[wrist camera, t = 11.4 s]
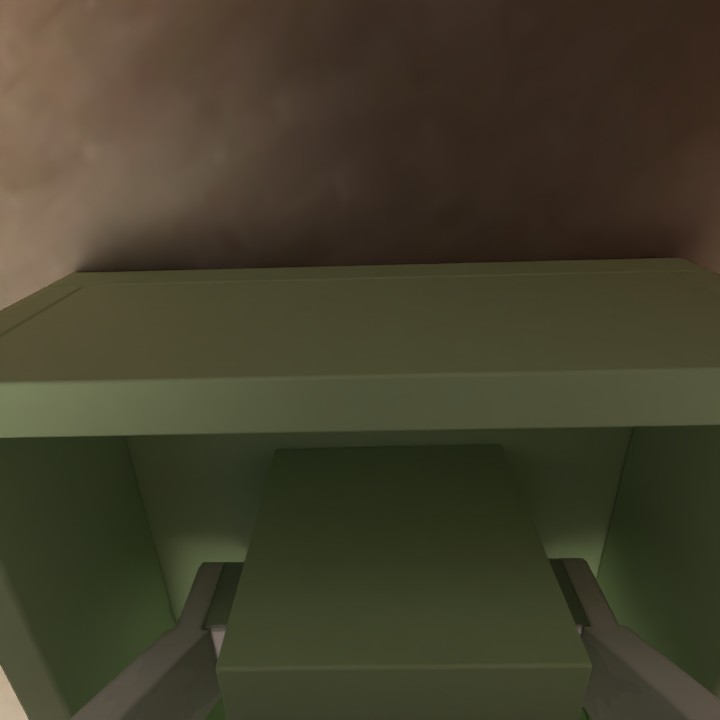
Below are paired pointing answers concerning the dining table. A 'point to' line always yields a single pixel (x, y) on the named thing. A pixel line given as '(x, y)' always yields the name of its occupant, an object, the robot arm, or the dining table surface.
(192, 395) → the sage bin
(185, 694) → the robot arm
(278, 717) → the sage block
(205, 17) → the dining table surface
